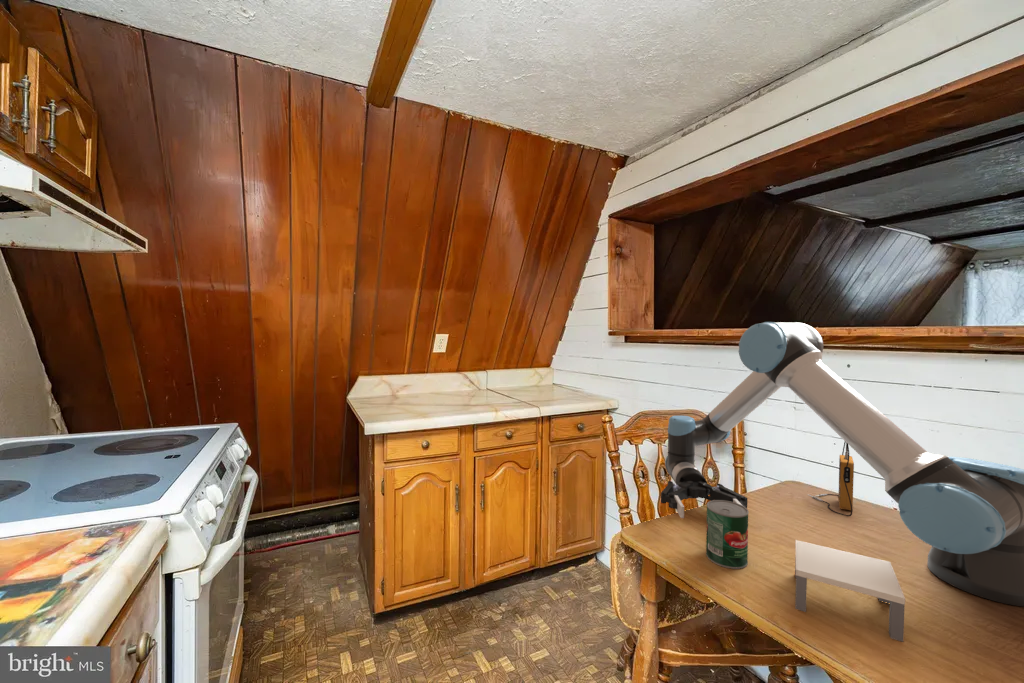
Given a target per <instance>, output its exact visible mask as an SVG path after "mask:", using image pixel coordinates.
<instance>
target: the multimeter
mask: <svg viewBox="0 0 1024 683" xmlns="http://www.w3.org/2000/svg"><path fill="white" fill-rule="evenodd" d="M849 447H850V445H849V444H848V443H847V442H846V441H844V444H843V448H842V453H841V454H839V458H838V460H839V461H838V462H839V466H838V494H833V493H821V494H820V493H819V494H817V495H816V496H815V495H810V494H807V493H806V494H807V496H810V497H811V498H813V499H815V500H817V501H819V502H824V503H826V504H828V505H827V508H828V509H829V510H830V511H832V512H833V513H836V514H839V515H842V516H846V517H851V516H852V515H853V508H854V506H853V505H854V504H853V503H854V478H855V477H854V475H855V474H854V471H855V470H854V469H855V464H854V463H855V462H854V460H853V456H850V448H849ZM825 496H837V497H838V498H837V499H838V505H839V509H841V510H845V511H850V514H844V513H841V512H839V511H838V512H837V511H835V510H833V509H832V508H830V505H831V504H830V503H829V502H827V501H824V500H823V499H822V498H819V497H825Z"/></svg>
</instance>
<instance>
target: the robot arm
mask: <svg viewBox="0 0 1024 683" xmlns="http://www.w3.org/2000/svg"><path fill="white" fill-rule="evenodd" d="M823 351H824V341H823V337H822V336H821V334H820V333H819V331H817V329H815V328H814V327H813V326H811V325H809V324H806V323H803V322H797V321H794V322H792V321H791V322H790V321H789V322H785V321H784V322H781V321H780V322H779V321H777V322H775V321H764V322H761V323H755V324H753V325H751V326H750V327H747V329H746V330H745V331H744V332H743V333H742V335H741V336H740V339H739V342H738V355H739V359H740V361H741V363H742V364H743V366H745V367H746V368H747V369H748V370H749V371H751V372H750V374H749V375H748V376H747V377H746V378H745V379H744V380H742V381H741V382H740V384H739V385H737V386H736V387H735V388H734V389H733V390H732V391H731V392H730V393H728V394H727V396H726V397H725V398H723V399H722V401H720V402H719V404H717V405H716V406H715V407H714V408H713V409H712V410H711V411H710V412H709V413H708V414H707V415H706V416H705V417H703V418H702V419H697V420H695V418H693V417H692V416H688V415H681V414H680V415H672V416H670V417H669V418H668V424H667V455H666V458H665V459H664V466H665V469H666V471H667V474H669V476H670V477H671V479H672V480H673V481H674V482H673V481H671V480H669V481H667V485H666V486H665V487H664V488H663V490H662V491H661V492H660V503H661V504H667V503H668V508H669V509H675V510H676V512H677V514H678V516H679V518H680V519H684V518H685V506H684V504H683V502H682V501H683V500H688V499H699V498H700V499H705V500H708V501H712V500H725V501H731V502H735V503H738V504H740V505H742V506H744V507H745V508H747V509H748V497H747V496H744V495H743V494H740V493H738V492H736V491H734V490H732V489H729V488H728V487H725V486H724V485H723V484H721V483H717V484H716V486H713V485H711V484H710V483H708V482H707V479H706V477H705V476H704V474H702V472H701V470H699V469H698V468H697V466H696V465H695V457H696V456H695V455H696V454H695V453H696V449H695V448H696V447H699V446H705V445H709V444H714V443H715V444H716V443H721V442H722V441H726V440H727V439H728V438H729V437H730V435H731V430H733V428H735V427H736V426H737V425H739V423H741V422H742V421H743V420H745V418H746V417H748V416H749V415H750V414H751V413H753V411H755V410H756V409H757V408H758V407H759V406H761V405H762V404H763V403H764V402H765V401H766V400H768V399H769V398H770V397H771V396H772V395H773V394H775V393H776V392H777V391H778V390H779V389H780V388H782V387H783V388H789V389H790V390H791V391H792V392H793V393H794V394H795V395H796V396H797V397H798V398H800V400H801V401H803V403H805V404H806V405H807V407H809V408H810V409H811V410H812V411H813V412H814V414H816V415H818V417H819V418H821V419H822V421H823V422H824V423H826V424H827V426H829V427H830V428H831V429H832V430H833V431H834V432H835V433H836V435H838V436H839V437H840V438H841V439H843V440H844V442H845V441H846V442H847V443H848V446H849V447H850V448H852V449H853V450H854V451H855V452H856V454H858V455H859V456H860V457H861V458H862V459H863V460H864V461H865V462H866V463H867V464H868V465H870V467H872V468H873V469H874V470H875V471H876V472H877V473H878V475H880V476H881V477H882V478H883V479H884V485H885V486H884V487H885V488H884V491H885V492H886V494H888V495H889V497H891V499H892V500H894V502H896V503H897V504H898V506H897V507H898V509H899V516H900V519H901V520H902V522H903V523H904V525H905V526H906V528H907V530H909V531H910V532H911V533H912V534H913V535H914V536H915V537H917V538H918V539H919V540H921V541H922V542H924V543H925V544H927V545H929V546H931V548H930V549H929V552H928V554H927V568H928V570H929V571H930V572H931V573H932V574H933V575H934V576H936V577H938V578H939V579H940V580H942V581H944V582H946V583H947V584H949V585H951V586H953V587H955V588H957V589H958V590H959V589H960V590H962V591H964V592H966V593H969V594H972V595H975V596H976V597H977V596H978V597H980V598H983V599H987V600H990V601H993V602H996V603H997V602H998V603H1001V604H1007V605H1012V606H1018V607H1024V469H1023V468H1019V467H1016V466H1012V465H1007V464H1003V463H998V462H992V461H987V460H982V459H974V458H968V457H961V456H948V455H942V454H937V453H936V454H935V453H931V452H929V451H927V450H926V449H925V448H923V447H922V446H921V445H920V444H919V443H917V441H916V440H914V439H913V438H911V437H910V436H909V434H907V433H906V432H905V431H904V430H902V429H901V428H900V427H899V426H898V425H897V424H895V423H894V422H893V421H892V420H891V419H889V418H888V416H886V415H885V414H884V413H882V412H881V411H880V410H879V409H878V408H877V407H875V406H874V405H873V404H871V402H870V401H868V400H867V399H866V398H865V397H863V396H862V395H861V394H860V393H859V392H858V391H856V390H855V389H854V388H853V387H852V386H850V385H849V384H848V383H847V382H846V381H844V380H843V379H842V378H841V377H840V376H838V375H837V374H836V373H835V372H834V371H833V370H832V369H831V368H830V367H829V366H827V365H826V364H825V363H823Z"/></svg>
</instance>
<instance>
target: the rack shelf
mask: <svg viewBox="0 0 1024 683" xmlns="http://www.w3.org/2000/svg"><path fill="white" fill-rule="evenodd" d="M794 546H795V550H794V551H795V557H794V559H795V561H794V563H795V566H794V569H795V570H794V579H795V578H796V579H795V604H794V605H795V610H799V611H801V612H805V613H806V612H807V589H808V588H807V585H808V579H809V580H812V581H816V582H819V583H823V584H827V585H831V586H835V587H838V588H842V589H845V590H850V591H853V592H857V593H859V594H860V593H861V594H863V595H868V596H871V597H874V598H877V599H879V600H878V602H879V601H883V602H887V603H890V605H888V606H889V607H888V608H889V609H888V612H889V613H888V635H889V638H890V639H892V640H896V641H899V642H901V643H904V633H905V606H906V597H905V594H904V592H903V589H902V588H901V585H900V582H899V579H898V578H897V574H896V573H895V571H894V568H893V566H892V562H891V561H889V560H884V559H880V558H876V557H871V556H867V555H862V554H858V553H854V552H849V551H846V550H845V551H844V550H840V549H837V548H836V549H835V548H832V547H828V546H823V545H819V544H815V543H810V542H806V541H803V540H798V539H795V545H794Z"/></svg>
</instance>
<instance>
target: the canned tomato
mask: <svg viewBox="0 0 1024 683" xmlns="http://www.w3.org/2000/svg"><path fill="white" fill-rule="evenodd" d="M749 514H750V513H749V509H748V507H747V508H745V507H744V506H742V505H740V504H738V503H735V502H731V501H725V500H712V501H710V500H708V501H707V503H706V526H705V527H706V537H705V539H706V540H705V543H706V544H705V548H706V549H705V550H706V551H705V556H706V557H708V558H707V559H708V560H709V561H710V560H711V561H710V562H712V563H713V564H715V565H717V566H719V567H722V568H726V569H730V568H731V569H732V570H740V568H741V569H744V568H746V567H747V566H748V564H749V563H748V562H749V561H748V557H749V556H748V555H749V553H748V551H749V549H748V547H749V545H748V544H749Z"/></svg>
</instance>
